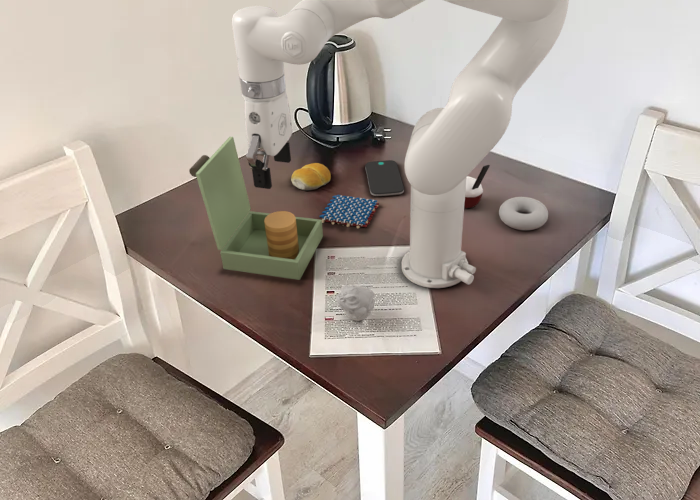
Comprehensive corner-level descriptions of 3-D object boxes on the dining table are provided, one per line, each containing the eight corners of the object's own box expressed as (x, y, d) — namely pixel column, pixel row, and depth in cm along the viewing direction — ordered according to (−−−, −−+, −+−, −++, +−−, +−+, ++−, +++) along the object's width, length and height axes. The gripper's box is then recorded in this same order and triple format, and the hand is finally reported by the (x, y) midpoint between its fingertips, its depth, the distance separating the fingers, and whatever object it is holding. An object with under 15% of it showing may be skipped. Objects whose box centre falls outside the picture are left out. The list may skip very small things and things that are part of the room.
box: (323, 239, 135) (321, 219, 132) (300, 283, 124) (297, 262, 121) (252, 230, 139) (249, 211, 136) (223, 272, 127) (220, 252, 125)
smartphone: (396, 159, 159) (405, 191, 147) (396, 162, 159) (405, 194, 147) (364, 161, 159) (371, 194, 146) (364, 165, 159) (371, 197, 147)
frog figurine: (331, 313, 116) (328, 282, 112) (366, 301, 119) (365, 270, 114) (345, 334, 112) (343, 303, 108) (382, 321, 114) (381, 290, 110)
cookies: (303, 246, 132) (299, 212, 127) (293, 264, 127) (289, 229, 122) (275, 242, 133) (270, 209, 129) (264, 260, 129) (259, 226, 124)
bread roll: (337, 179, 154) (336, 164, 152) (310, 195, 149) (308, 179, 147) (313, 168, 159) (311, 153, 157) (285, 183, 154) (283, 168, 152)
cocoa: (448, 195, 147) (451, 146, 140) (476, 192, 147) (480, 144, 140) (458, 218, 139) (461, 168, 132) (487, 215, 139) (492, 165, 132)
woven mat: (366, 232, 136) (366, 224, 135) (318, 225, 139) (317, 217, 138) (380, 206, 144) (380, 198, 143) (335, 200, 147) (334, 192, 146)
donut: (531, 239, 132) (556, 217, 138) (533, 225, 130) (558, 203, 135) (488, 222, 138) (514, 201, 143) (490, 208, 136) (516, 188, 141)
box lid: (233, 136, 126) (208, 136, 128) (199, 173, 115) (173, 173, 116) (251, 209, 135) (228, 208, 137) (221, 250, 124) (197, 248, 126)
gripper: (264, 107, 103) (275, 200, 113) (301, 67, 116) (307, 154, 126) (220, 103, 105) (235, 195, 115) (261, 64, 118) (271, 150, 128)
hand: (273, 173), depth 121 cm, fingers open, 9 cm apart
